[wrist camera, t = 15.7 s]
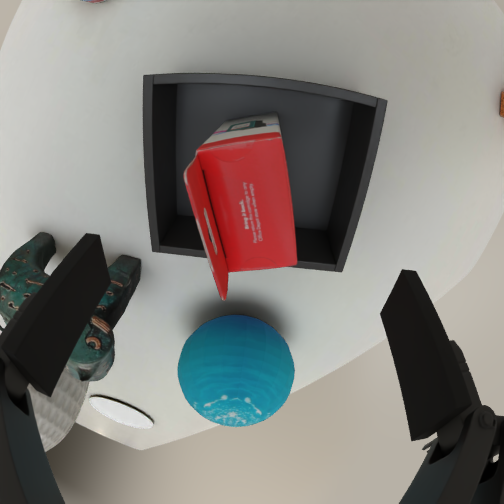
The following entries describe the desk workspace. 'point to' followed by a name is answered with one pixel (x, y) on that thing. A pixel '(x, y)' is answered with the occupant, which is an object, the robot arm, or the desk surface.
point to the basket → (295, 146)
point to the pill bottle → (94, 1)
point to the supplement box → (502, 105)
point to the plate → (120, 412)
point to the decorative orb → (236, 370)
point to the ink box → (243, 198)
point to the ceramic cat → (101, 322)
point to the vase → (58, 408)
